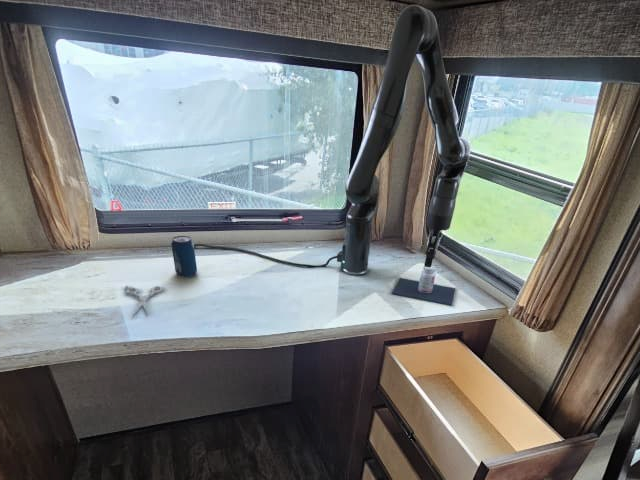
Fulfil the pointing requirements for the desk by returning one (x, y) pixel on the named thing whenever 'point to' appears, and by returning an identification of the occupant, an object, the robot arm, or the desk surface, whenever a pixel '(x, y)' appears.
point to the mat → (437, 295)
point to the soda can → (184, 256)
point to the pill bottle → (427, 279)
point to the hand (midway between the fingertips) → (429, 262)
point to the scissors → (142, 299)
